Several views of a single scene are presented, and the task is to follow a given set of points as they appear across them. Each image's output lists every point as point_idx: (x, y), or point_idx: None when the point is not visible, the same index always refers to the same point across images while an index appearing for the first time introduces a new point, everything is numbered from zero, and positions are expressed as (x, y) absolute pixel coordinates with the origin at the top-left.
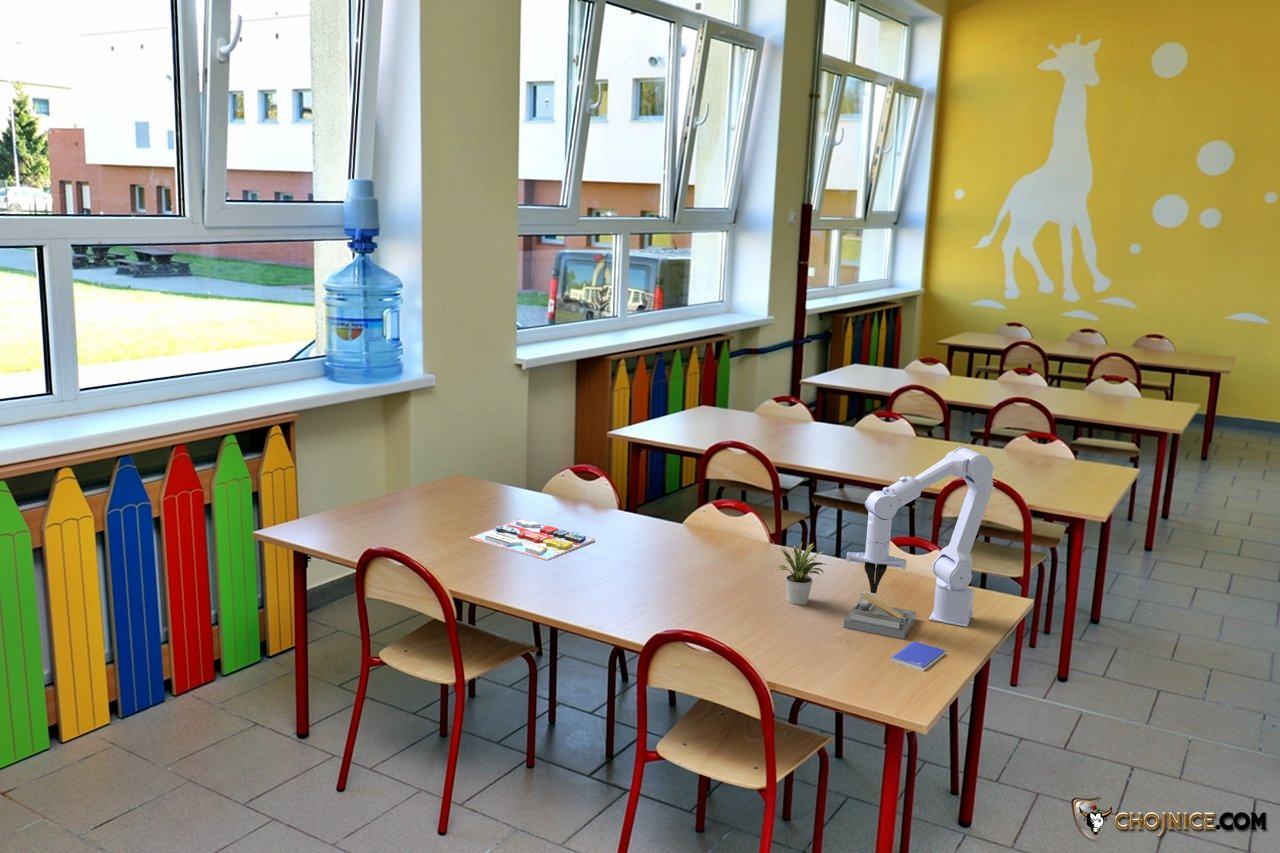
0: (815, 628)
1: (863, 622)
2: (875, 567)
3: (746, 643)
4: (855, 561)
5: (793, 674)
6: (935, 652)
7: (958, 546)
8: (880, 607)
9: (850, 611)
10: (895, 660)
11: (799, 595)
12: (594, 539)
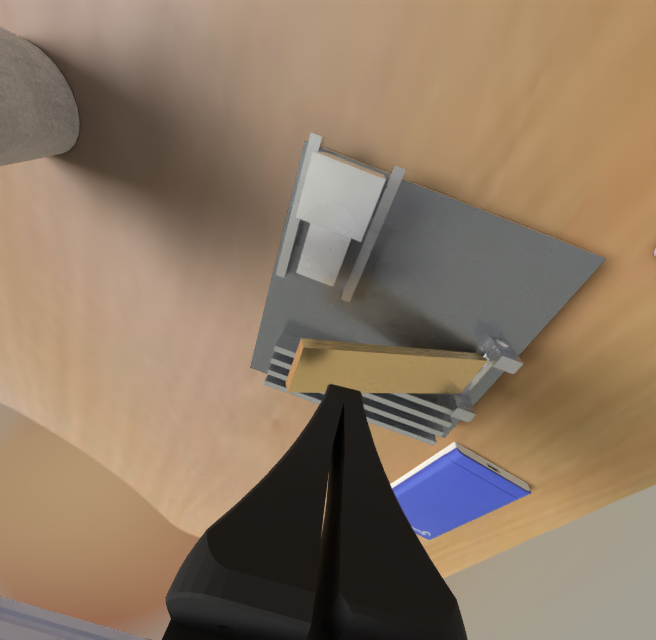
0: (184, 362)
1: None
2: (319, 538)
3: (77, 434)
4: (57, 626)
5: (196, 518)
6: (494, 503)
7: None
8: (378, 390)
9: (268, 295)
10: None
11: (14, 162)
12: None
